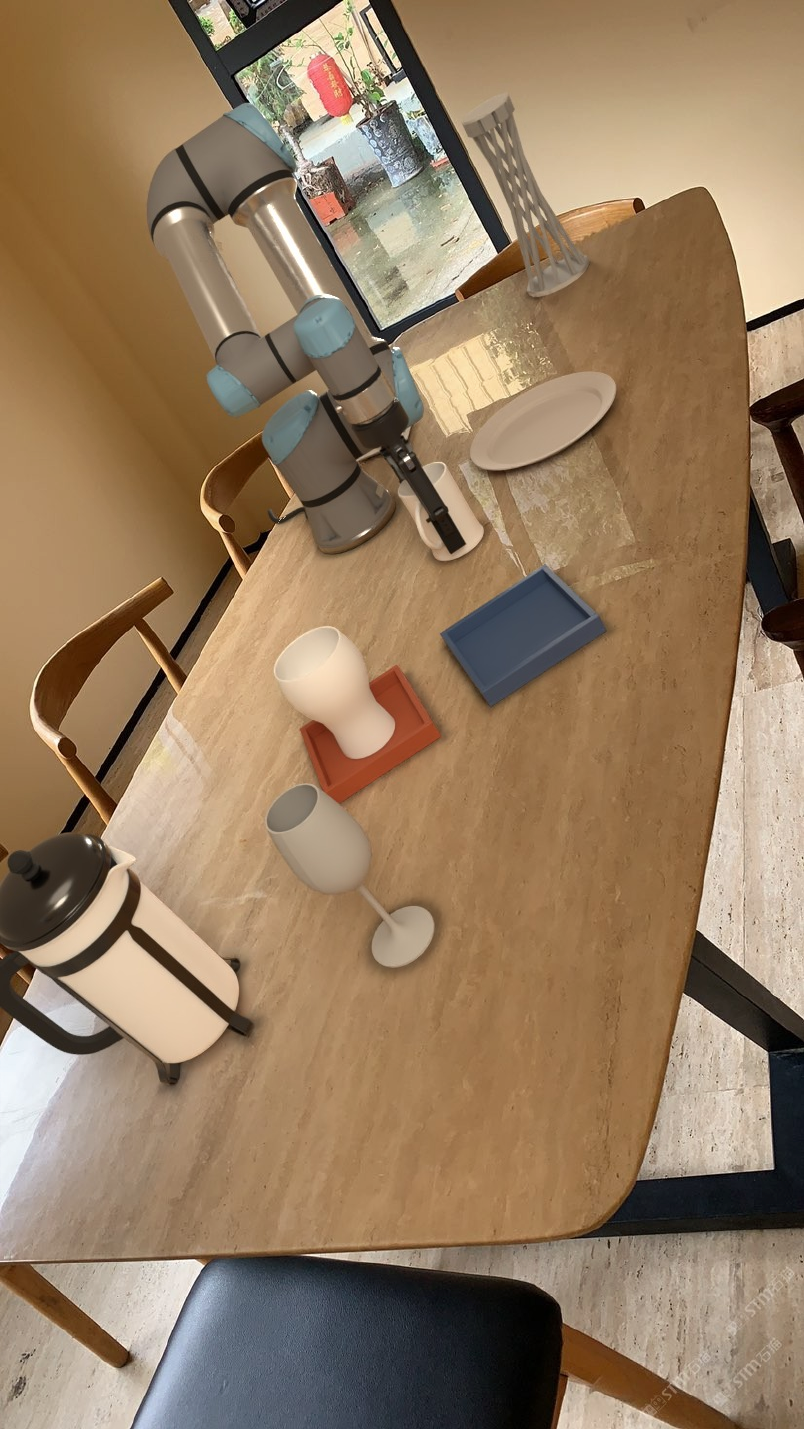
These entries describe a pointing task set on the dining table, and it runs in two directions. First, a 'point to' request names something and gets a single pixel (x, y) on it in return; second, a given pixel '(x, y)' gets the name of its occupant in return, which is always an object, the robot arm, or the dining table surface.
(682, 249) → the dining table surface
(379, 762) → the cup tray
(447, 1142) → the dining table surface
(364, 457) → the dessert
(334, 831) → the wineglass
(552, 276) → the grey lattice tower
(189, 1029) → the coffee press
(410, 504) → the mug
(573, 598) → the mug tray
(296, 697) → the cup
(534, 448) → the plate
